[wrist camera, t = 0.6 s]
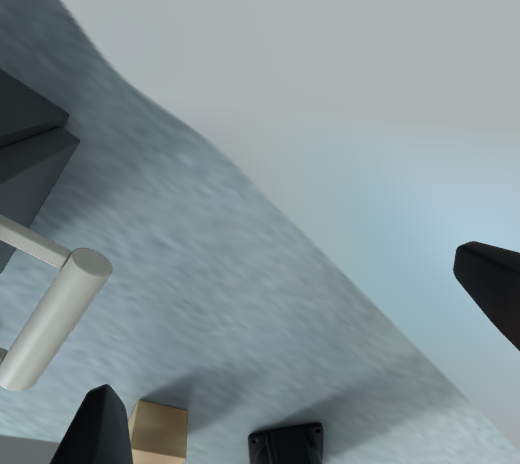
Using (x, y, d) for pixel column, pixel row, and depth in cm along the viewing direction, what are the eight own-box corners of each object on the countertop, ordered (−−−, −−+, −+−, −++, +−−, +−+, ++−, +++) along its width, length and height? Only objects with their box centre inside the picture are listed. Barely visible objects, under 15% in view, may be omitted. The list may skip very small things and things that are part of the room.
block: (188, 410, 29) (186, 458, 25) (169, 444, 30) (165, 495, 26) (138, 399, 28) (129, 448, 24) (121, 435, 29) (109, 486, 25)
